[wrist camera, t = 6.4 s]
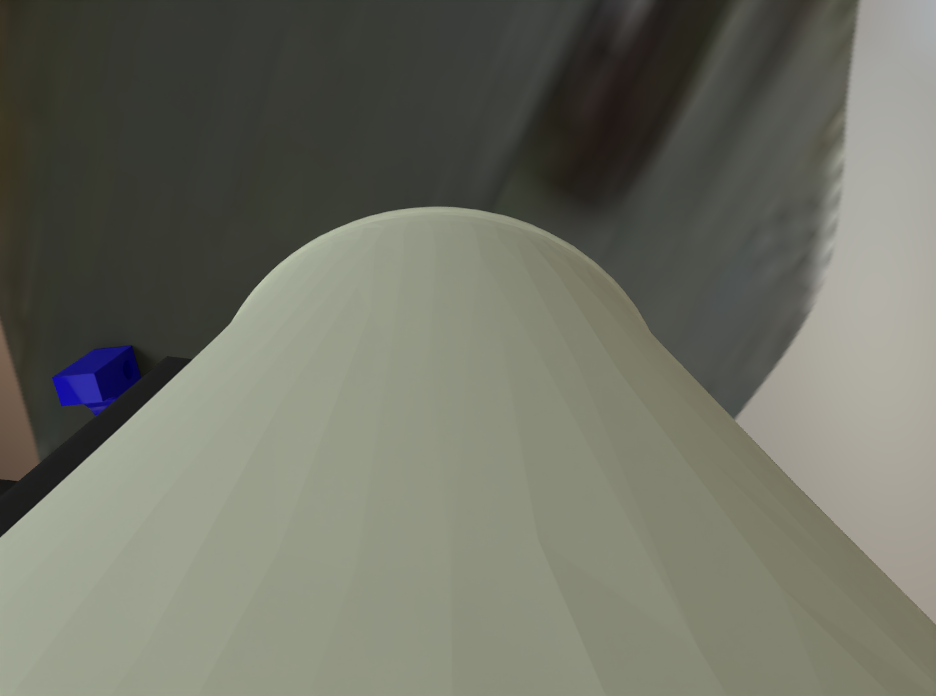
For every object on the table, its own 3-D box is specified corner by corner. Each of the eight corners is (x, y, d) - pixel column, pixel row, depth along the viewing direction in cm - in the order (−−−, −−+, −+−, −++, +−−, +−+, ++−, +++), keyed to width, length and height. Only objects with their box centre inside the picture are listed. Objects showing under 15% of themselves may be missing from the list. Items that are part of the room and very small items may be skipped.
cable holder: (195, 474, 38) (167, 513, 34) (134, 480, 38) (99, 520, 34) (159, 342, 35) (125, 369, 32) (94, 349, 35) (52, 377, 32)
